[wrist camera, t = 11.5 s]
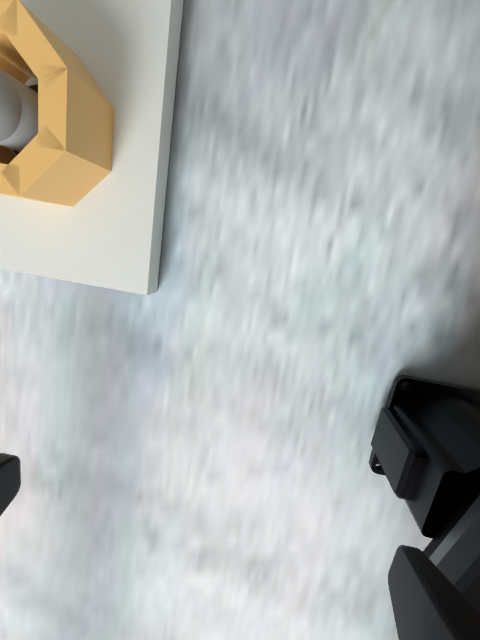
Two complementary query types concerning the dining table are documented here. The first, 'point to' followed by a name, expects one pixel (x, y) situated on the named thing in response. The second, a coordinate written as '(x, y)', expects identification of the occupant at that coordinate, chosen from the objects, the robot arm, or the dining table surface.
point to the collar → (54, 115)
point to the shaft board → (127, 151)
